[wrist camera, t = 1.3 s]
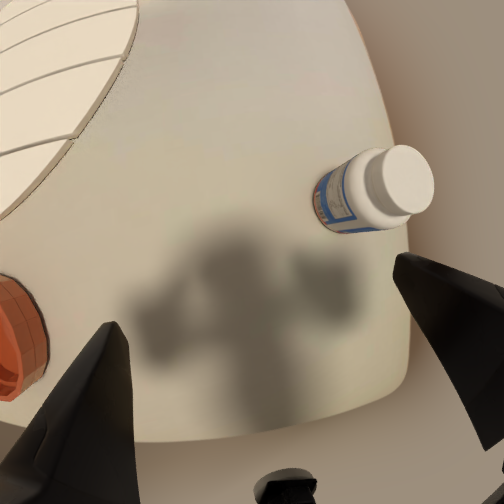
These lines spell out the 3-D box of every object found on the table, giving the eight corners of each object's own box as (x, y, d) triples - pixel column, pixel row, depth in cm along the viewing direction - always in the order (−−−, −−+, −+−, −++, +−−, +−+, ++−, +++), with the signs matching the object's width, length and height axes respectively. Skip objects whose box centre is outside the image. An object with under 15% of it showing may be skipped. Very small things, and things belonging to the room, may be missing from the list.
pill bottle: (375, 193, 24) (451, 171, 14) (352, 245, 23) (429, 246, 14) (327, 159, 23) (389, 116, 13) (300, 212, 23) (359, 192, 13)
